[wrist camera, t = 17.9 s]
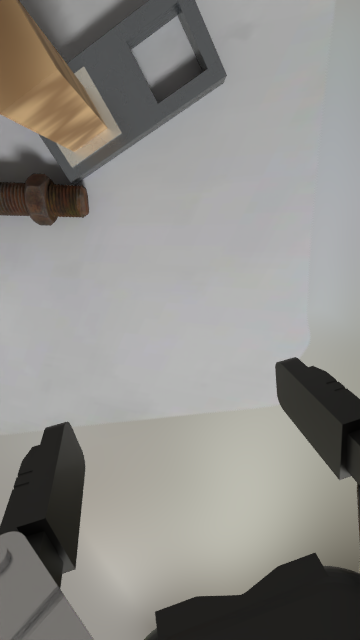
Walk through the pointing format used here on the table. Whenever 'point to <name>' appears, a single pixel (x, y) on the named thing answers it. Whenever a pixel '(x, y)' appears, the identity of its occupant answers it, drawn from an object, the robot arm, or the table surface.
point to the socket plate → (134, 84)
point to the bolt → (43, 199)
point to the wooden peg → (41, 83)
